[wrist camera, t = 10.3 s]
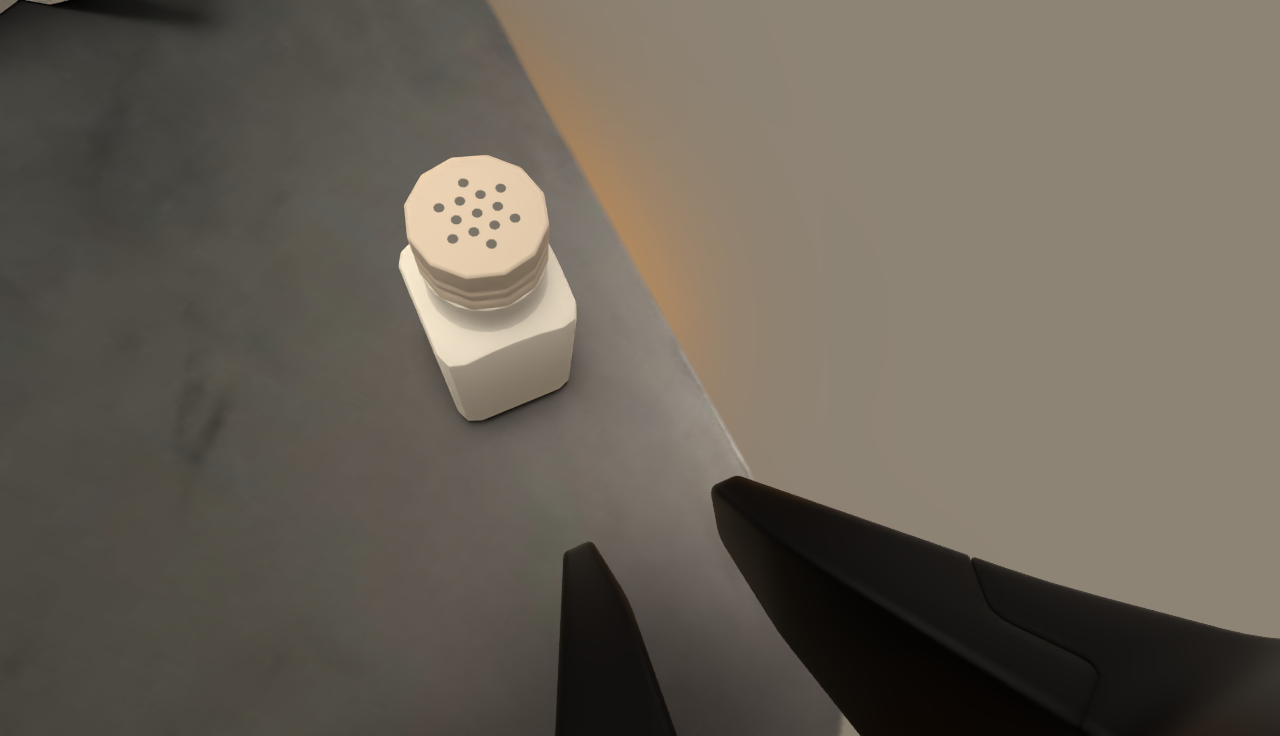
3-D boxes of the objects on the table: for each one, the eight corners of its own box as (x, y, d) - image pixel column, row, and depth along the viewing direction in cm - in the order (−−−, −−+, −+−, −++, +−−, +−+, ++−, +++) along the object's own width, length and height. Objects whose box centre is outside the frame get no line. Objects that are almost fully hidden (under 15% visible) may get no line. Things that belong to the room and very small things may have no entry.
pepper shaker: (424, 330, 24) (357, 167, 15) (530, 292, 25) (525, 118, 16) (466, 431, 23) (421, 321, 14) (574, 387, 24) (595, 257, 15)
